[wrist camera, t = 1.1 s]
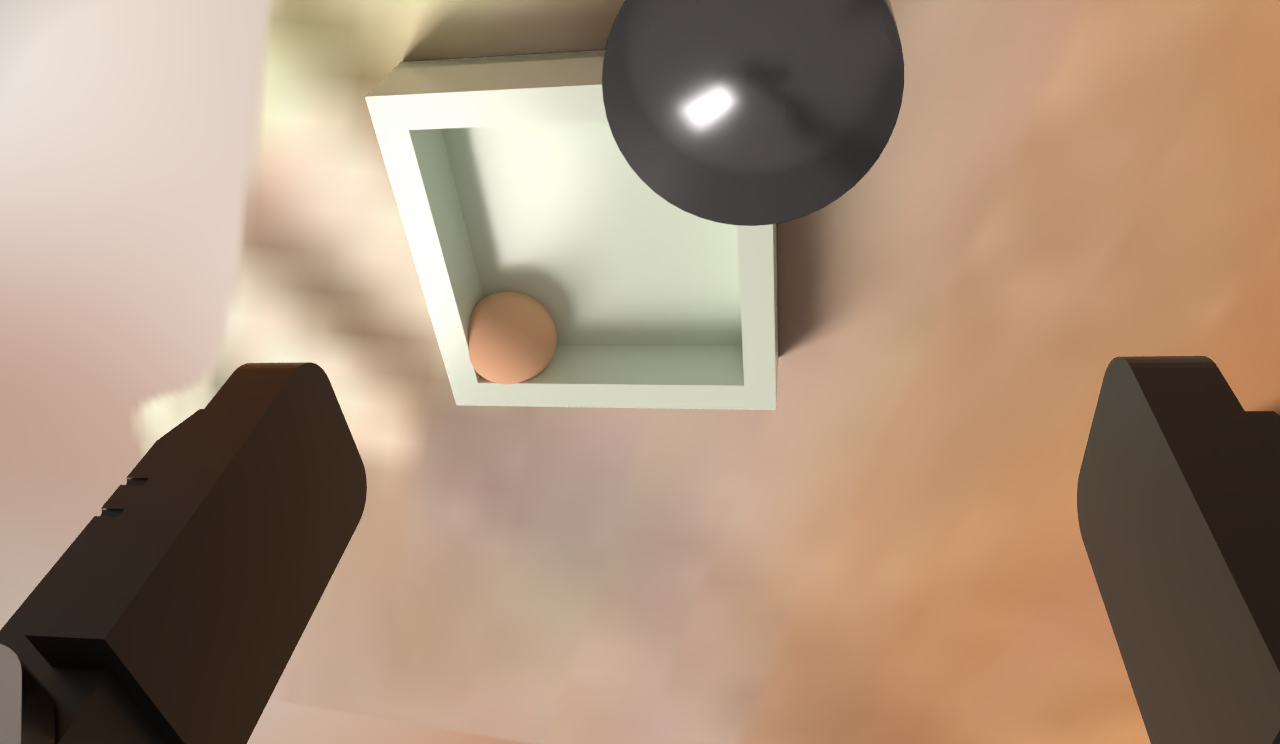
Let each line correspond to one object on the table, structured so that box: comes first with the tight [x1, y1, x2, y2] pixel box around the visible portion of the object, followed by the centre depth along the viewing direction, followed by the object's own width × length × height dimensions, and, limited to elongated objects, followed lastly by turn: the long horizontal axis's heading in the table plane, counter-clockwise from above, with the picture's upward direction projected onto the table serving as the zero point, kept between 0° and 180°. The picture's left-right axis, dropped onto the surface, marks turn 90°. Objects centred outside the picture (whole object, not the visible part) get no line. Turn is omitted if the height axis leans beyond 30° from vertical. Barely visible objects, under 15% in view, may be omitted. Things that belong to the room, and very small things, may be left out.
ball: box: [468, 291, 557, 384], centre depth 31 cm, size 3×3×3 cm
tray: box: [365, 50, 778, 410], centre depth 28 cm, size 11×11×3 cm
